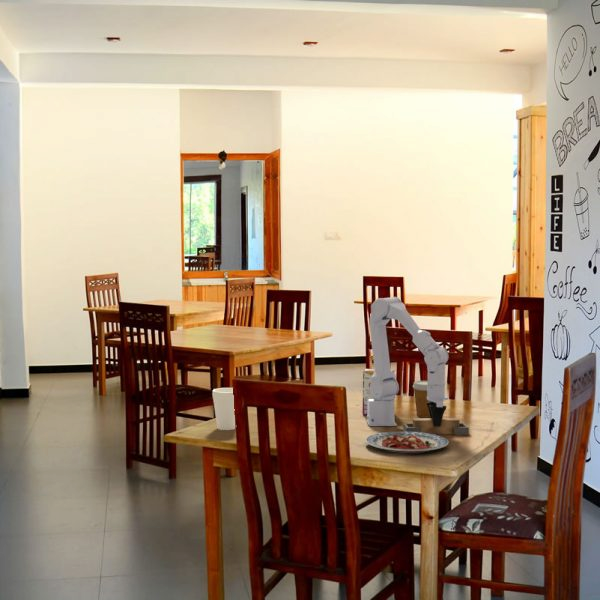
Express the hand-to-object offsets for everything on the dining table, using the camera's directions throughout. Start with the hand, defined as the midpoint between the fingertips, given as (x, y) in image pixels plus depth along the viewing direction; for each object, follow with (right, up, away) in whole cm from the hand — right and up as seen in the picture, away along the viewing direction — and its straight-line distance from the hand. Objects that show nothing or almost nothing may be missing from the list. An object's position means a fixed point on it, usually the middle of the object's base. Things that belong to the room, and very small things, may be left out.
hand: (435, 424), depth 306 cm
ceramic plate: (-12, -5, -19) cm, 23 cm away
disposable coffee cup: (+1, -1, +29) cm, 29 cm away
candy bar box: (-16, -1, +31) cm, 35 cm away
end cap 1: (-7, -3, 0) cm, 8 cm away
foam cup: (-70, -2, +7) cm, 70 cm away
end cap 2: (+8, -3, 0) cm, 8 cm away
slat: (0, -3, 0) cm, 3 cm away
